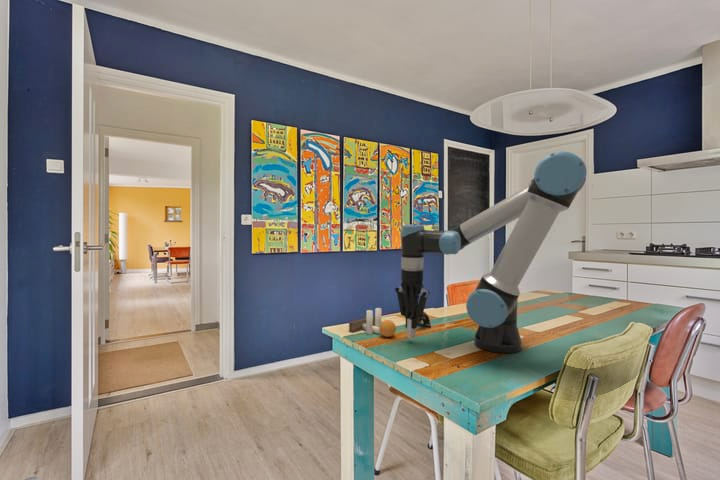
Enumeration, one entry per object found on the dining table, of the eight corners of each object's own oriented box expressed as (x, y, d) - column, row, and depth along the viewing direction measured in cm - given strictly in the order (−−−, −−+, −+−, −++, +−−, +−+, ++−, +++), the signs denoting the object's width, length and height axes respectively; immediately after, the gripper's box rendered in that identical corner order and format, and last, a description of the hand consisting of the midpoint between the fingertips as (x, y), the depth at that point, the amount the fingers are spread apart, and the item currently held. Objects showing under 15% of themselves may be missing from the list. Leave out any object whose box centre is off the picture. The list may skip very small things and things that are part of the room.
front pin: (383, 327, 135) (366, 322, 141) (378, 328, 134) (361, 324, 139) (383, 333, 136) (366, 328, 141) (379, 335, 134) (362, 330, 140)
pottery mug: (434, 331, 141) (425, 314, 138) (412, 340, 142) (403, 324, 140) (430, 315, 152) (422, 300, 150) (409, 324, 154) (401, 308, 152)
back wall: (375, 325, 146) (375, 317, 145) (352, 332, 136) (352, 323, 136) (371, 324, 147) (371, 316, 147) (349, 331, 137) (349, 322, 137)
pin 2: (382, 330, 139) (382, 308, 139) (378, 331, 137) (378, 309, 137) (377, 329, 141) (378, 307, 140) (373, 330, 139) (373, 308, 139)
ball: (383, 324, 137) (393, 337, 134) (373, 329, 132) (384, 342, 130) (390, 314, 134) (401, 326, 131) (381, 319, 129) (392, 332, 127)
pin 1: (373, 333, 135) (374, 310, 135) (369, 334, 134) (370, 312, 133) (369, 332, 137) (369, 309, 137) (364, 333, 135) (365, 310, 135)
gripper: (434, 270, 123) (433, 338, 124) (403, 266, 132) (402, 330, 133) (422, 272, 117) (420, 344, 118) (390, 268, 126) (389, 335, 127)
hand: (411, 336), depth 126 cm, fingers closed
